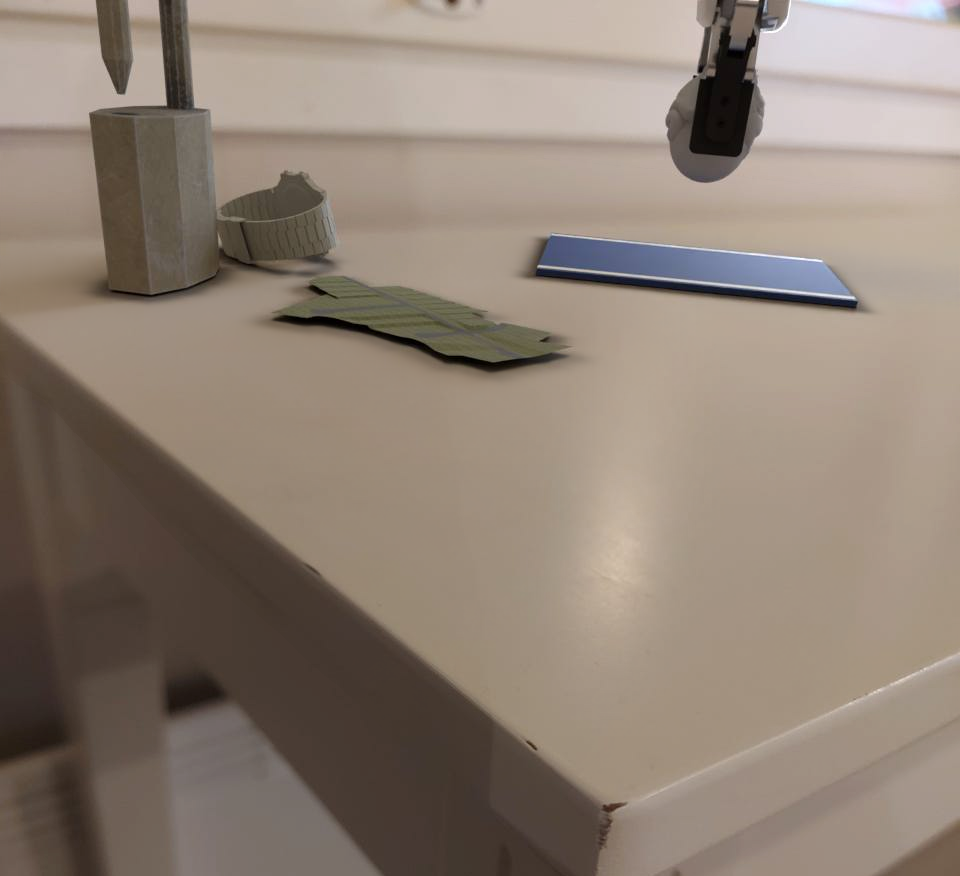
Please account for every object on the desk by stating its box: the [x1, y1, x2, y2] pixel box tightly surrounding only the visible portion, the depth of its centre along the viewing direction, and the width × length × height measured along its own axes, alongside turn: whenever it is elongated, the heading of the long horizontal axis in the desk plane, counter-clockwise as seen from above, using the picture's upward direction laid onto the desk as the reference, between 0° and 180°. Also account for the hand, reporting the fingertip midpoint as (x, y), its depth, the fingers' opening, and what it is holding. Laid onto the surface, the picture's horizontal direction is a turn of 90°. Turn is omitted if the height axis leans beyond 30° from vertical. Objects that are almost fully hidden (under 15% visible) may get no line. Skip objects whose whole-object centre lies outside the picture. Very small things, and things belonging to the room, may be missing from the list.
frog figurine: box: [664, 66, 766, 184], centre depth 64 cm, size 6×7×7 cm
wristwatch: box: [216, 169, 340, 265], centre depth 61 cm, size 9×6×5 cm
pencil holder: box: [88, 0, 221, 295], centre depth 52 cm, size 4×8×15 cm, turn 167°
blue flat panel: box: [535, 232, 859, 308], centre depth 69 cm, size 20×14×1 cm
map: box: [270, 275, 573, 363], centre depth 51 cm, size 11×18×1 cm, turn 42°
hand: (710, 146), depth 65 cm, fingers closed on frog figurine, 6 cm apart
